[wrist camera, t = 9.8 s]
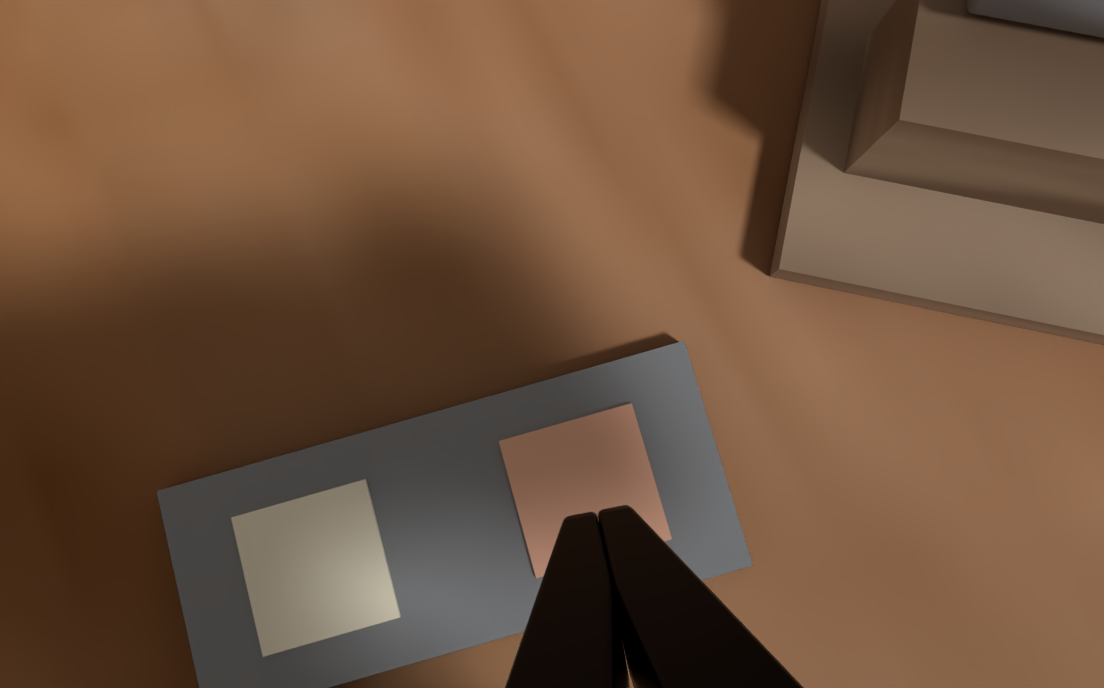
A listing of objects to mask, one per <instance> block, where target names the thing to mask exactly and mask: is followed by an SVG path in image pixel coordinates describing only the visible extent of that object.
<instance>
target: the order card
mask: <svg viewBox="0 0 1104 688" xmlns="http://www.w3.org/2000/svg"><path fill="white" fill-rule="evenodd" d="M156 492H157V496H158V501H159V506H160V510H161V515H162V519H163V524H164V528H165V533H166V538H167V542H168V547H169V551H170V556H171V561H172V565H173V570H174V574H175V579H176V584H177V588H178V593H179V597H180V602H181V607H182V611H183V616H184V620H185V625H186V629H187V634H188V639H189V643H190V648H191V652H192V657H193V662H194V666H195V671H196V675H197V680H198V685H199V688H330V687H333V686H337V685H340V684H343V683H347V682H350V681H354V680H357V679H361V678H364V677H368V676H371V675H375V674H378V673H382V672H385V671H389V670H392V669H396V668H399V667H402V666H406V665H409V664H413V663H416V662H420V661H423V660H427V659H430V658H434V657H437V656H441V655H444V654H448V653H451V652H455V651H458V650H461V649H465V648H468V647H472V646H475V645H479V644H482V643H486V642H489V641H493V640H496V639H500V638H503V637H507V636H510V635H513V634H517V633H520V632H524V631H525V628H526V625H527V622H528V619H529V616H530V614H531V611H532V608H533V605H534V602H535V599H536V596H537V593H538V591H539V588H540V585H541V582H542V579H543V576H544V573H545V570H546V568H547V565H548V562H549V559H550V556H551V553H552V550H553V547H554V545H555V542H556V539H557V536H558V533H559V530H560V527H561V524H562V522H563V520H564V518H566V517H567V516H571V515H576V514H581V513H586V512H594V513H596V514H597V517H598V513H599V511H600V510H602V509H606V508H611V507H617V506H622V505H628V506H630V507H632V508H633V509H634V510H635V511H636V512H637V513H638V514H639V515H640V516H641V517H642V518H643V520H644V521H645V522H646V523H647V524H648V525H649V526H650V527H651V528H652V529H653V530H654V531H655V532H656V533H657V534H658V535H659V536H660V537H661V538H662V540H663V541H664V542H665V543H666V544H667V545H668V546H669V547H670V548H671V549H672V550H673V551H674V552H675V553H676V554H677V555H678V556H679V557H680V558H681V559H682V561H683V562H684V563H685V564H686V565H687V566H688V567H689V568H690V569H691V570H692V571H693V572H694V573H695V574H696V575H697V576H698V577H699V578H700V579H701V580H704V579H708V578H711V577H715V576H718V575H722V574H725V573H729V572H732V571H736V570H739V569H742V568H746V567H749V566H753V564H752V561H751V557H750V554H749V551H748V548H747V544H746V541H745V538H744V534H743V531H742V528H741V525H740V521H739V518H738V515H737V512H736V508H735V505H734V502H733V499H732V495H731V492H730V489H729V486H728V482H727V479H726V476H725V473H724V469H723V466H722V463H721V460H720V456H719V453H718V450H717V447H716V443H715V440H714V437H713V434H712V430H711V427H710V424H709V420H708V417H707V414H706V411H705V407H704V404H703V401H702V398H701V394H700V391H699V388H698V385H697V381H696V378H695V375H694V372H693V368H692V365H691V362H690V359H689V355H688V352H687V349H686V346H685V342H684V341H681V342H678V343H674V344H671V345H667V346H664V347H660V348H657V349H653V350H650V351H646V352H643V353H639V354H636V355H632V356H629V357H625V358H622V359H618V360H614V361H611V362H607V363H604V364H600V365H597V366H593V367H590V368H586V369H583V370H579V371H576V372H572V373H569V374H565V375H562V376H558V377H555V378H551V379H548V380H544V381H541V382H537V383H534V384H530V385H527V386H523V387H520V388H516V389H513V390H509V391H506V392H502V393H499V394H495V395H492V396H488V397H485V398H481V399H478V400H474V401H471V402H467V403H464V404H460V405H457V406H453V407H450V408H446V409H443V410H439V411H436V412H432V413H429V414H425V415H422V416H418V417H415V418H411V419H408V420H404V421H400V422H397V423H393V424H390V425H386V426H383V427H379V428H376V429H372V430H369V431H365V432H362V433H358V434H355V435H351V436H348V437H344V438H341V439H337V440H334V441H330V442H327V443H323V444H320V445H316V446H313V447H309V448H306V449H302V450H299V451H295V452H292V453H288V454H285V455H281V456H278V457H274V458H271V459H267V460H264V461H260V462H257V463H253V464H250V465H246V466H243V467H239V468H236V469H232V470H229V471H225V472H222V473H218V474H215V475H211V476H208V477H204V478H201V479H197V480H193V481H190V482H186V483H183V484H179V485H176V486H172V487H169V488H165V489H162V490H158V491H156ZM598 521H599V520H598Z"/></svg>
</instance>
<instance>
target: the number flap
mask: <svg viewBox="0 0 1104 688" xmlns="http://www.w3.org/2000/svg"><path fill="white" fill-rule="evenodd" d="M967 8H968V11H969V12H970V13H973V14H978V15H984V16H989V17H994V18H1000V19H1005V20H1010V21H1016V22H1021V23H1027V24H1032V25H1037V26H1043V27H1048V28H1053V29H1059V30H1064V31H1070V32H1075V33H1080V34H1086V35H1091V36H1096V37H1102V38H1104V0H967Z"/></svg>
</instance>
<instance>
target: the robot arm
mask: <svg viewBox="0 0 1104 688" xmlns="http://www.w3.org/2000/svg"><path fill="white" fill-rule="evenodd" d="M598 520H599V521H598ZM622 641H623V642H622ZM623 646H624V647H623ZM624 651H625V653H624ZM625 656H626V659H625ZM626 660H627V664H626ZM627 665H628V669H629V673H630V677H631V680H632V683H633V686H634V688H803V687H802V685H801V684H800V683H799V682H798V681H797V680H796V679H795V678H794V677H793V676H792V675H791V674H790V673H789V672H788V671H787V670H786V669H785V668H784V667H783V666H782V664H781V663H780V662H779V661H778V660H777V659H776V658H775V657H774V656H773V655H772V654H771V653H770V652H769V651H768V650H767V649H766V648H765V647H764V646H763V645H762V643H761V642H760V641H759V640H758V639H757V638H756V637H755V636H754V635H753V634H752V633H751V632H750V631H749V630H748V629H747V628H746V627H745V626H744V625H743V624H742V622H741V621H740V620H739V619H738V618H737V617H736V616H735V615H734V614H733V613H732V612H731V611H730V610H729V609H728V608H727V607H726V606H725V605H724V604H723V603H722V601H721V600H720V599H719V598H718V597H717V596H716V595H715V594H714V593H713V592H712V591H711V590H710V589H709V588H708V587H707V586H706V585H705V584H704V583H703V582H702V580H701V579H700V578H699V577H698V576H697V575H696V574H695V573H694V572H693V571H692V570H691V569H690V568H689V567H688V566H687V565H686V564H685V563H684V562H683V561H682V559H681V558H680V557H679V556H678V555H677V554H676V553H675V552H674V551H673V550H672V549H671V548H670V547H669V546H668V545H667V544H666V543H665V542H664V541H663V540H662V538H661V537H660V536H659V535H658V534H657V533H656V532H655V531H654V530H653V529H652V528H651V527H650V526H649V525H648V524H647V523H646V522H645V521H644V520H643V518H642V517H641V516H640V515H639V514H638V513H637V512H636V511H635V510H634V509H633V508H632V507H630V506H628V505H622V506H617V507H611V508H606V509H602V510H600V511H599V513H598V517H597V514H596V513H594V512H586V513H581V514H576V515H571V516H567V517H566V518H564V520H563V522H562V524H561V527H560V530H559V533H558V536H557V539H556V542H555V545H554V547H553V550H552V553H551V556H550V559H549V562H548V565H547V568H546V570H545V573H544V576H543V579H542V582H541V585H540V588H539V591H538V593H537V596H536V599H535V602H534V605H533V608H532V611H531V614H530V616H529V619H528V622H527V625H526V628H525V631H524V634H523V637H522V639H521V642H520V645H519V648H518V651H517V654H516V657H515V660H514V662H513V665H512V668H511V671H510V674H509V677H508V680H507V683H506V686H505V688H630V686H629V676H628V670H627Z"/></svg>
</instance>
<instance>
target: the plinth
mask: <svg viewBox="0 0 1104 688" xmlns="http://www.w3.org/2000/svg"><path fill="white" fill-rule="evenodd" d="M770 277H775V278H780V279H785V280H790V281H795V282H799V283H804V284H809V285H814V286H819V287H824V288H829V289H834V290H839V291H843V292H848V293H853V294H858V295H863V296H868V297H873V298H878V299H883V300H887V301H892V302H897V303H902V304H907V305H912V306H917V307H922V308H927V309H931V310H936V311H941V312H946V313H951V314H956V315H961V316H966V317H971V318H975V319H980V320H985V321H990V322H995V323H1000V324H1005V325H1010V326H1015V327H1020V328H1024V329H1029V330H1034V331H1039V332H1044V333H1049V334H1054V335H1059V336H1064V337H1068V338H1073V339H1078V340H1083V341H1088V342H1093V343H1098V344H1103V345H1104V38H1102V37H1096V36H1091V35H1086V34H1080V33H1075V32H1070V31H1064V30H1059V29H1053V28H1048V27H1043V26H1037V25H1032V24H1027V23H1021V22H1016V21H1010V20H1005V19H1000V18H994V17H989V16H984V15H978V14H973V13H970V12H969V11H968V8H967V0H821V4H820V10H819V15H818V20H817V26H816V31H815V36H814V42H813V47H812V52H811V58H810V63H809V68H808V74H807V79H806V84H805V90H804V95H803V100H802V106H801V111H800V116H799V122H798V127H797V132H796V138H795V143H794V148H793V154H792V159H791V165H790V170H789V175H788V181H787V186H786V191H785V197H784V202H783V207H782V213H781V218H780V223H779V229H778V234H777V239H776V245H775V250H774V255H773V261H772V266H771V271H770Z"/></svg>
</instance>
